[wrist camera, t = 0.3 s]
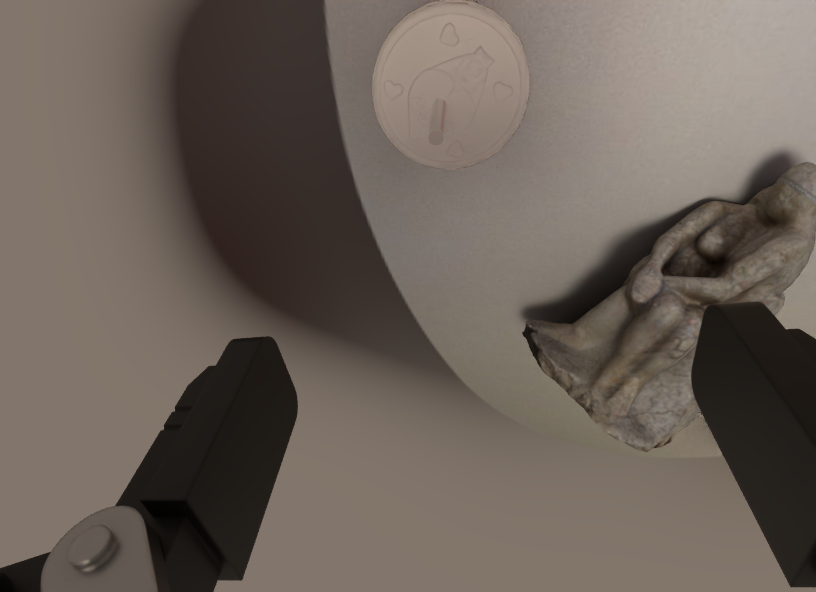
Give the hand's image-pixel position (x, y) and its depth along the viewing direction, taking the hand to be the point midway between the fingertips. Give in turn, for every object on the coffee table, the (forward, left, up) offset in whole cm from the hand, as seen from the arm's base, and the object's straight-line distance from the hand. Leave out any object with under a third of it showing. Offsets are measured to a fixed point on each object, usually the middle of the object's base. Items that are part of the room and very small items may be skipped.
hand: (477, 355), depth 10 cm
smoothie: (-2, -1, -24) cm, 24 cm away
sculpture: (+13, +12, -24) cm, 30 cm away
